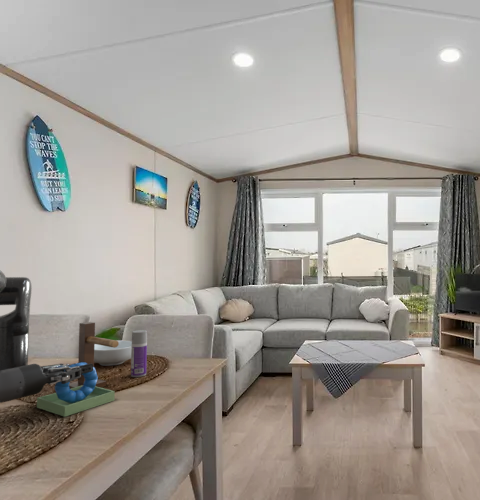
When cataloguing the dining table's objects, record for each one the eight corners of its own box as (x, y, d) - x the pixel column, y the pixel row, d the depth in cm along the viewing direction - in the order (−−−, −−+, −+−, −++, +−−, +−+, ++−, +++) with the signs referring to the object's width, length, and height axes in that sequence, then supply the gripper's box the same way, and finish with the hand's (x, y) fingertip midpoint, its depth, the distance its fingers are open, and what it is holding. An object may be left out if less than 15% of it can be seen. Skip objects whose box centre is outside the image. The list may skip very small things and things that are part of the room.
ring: (51, 406, 104) (52, 367, 104) (93, 394, 114) (94, 358, 114) (57, 408, 103) (59, 368, 103) (99, 396, 112) (100, 359, 113)
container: (149, 373, 137) (150, 330, 137) (140, 377, 132) (141, 332, 132) (136, 372, 137) (137, 329, 138) (127, 376, 133) (128, 332, 133)
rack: (64, 389, 120) (65, 323, 120) (91, 382, 127) (92, 320, 127) (100, 399, 112) (102, 329, 112) (127, 391, 119) (128, 325, 119)
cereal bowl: (107, 371, 138) (108, 351, 138) (74, 366, 144) (75, 347, 144) (147, 359, 154) (148, 341, 154) (116, 355, 160) (117, 338, 160)
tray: (36, 407, 105) (36, 397, 105) (86, 392, 117) (87, 384, 117) (64, 416, 100) (64, 406, 100) (114, 400, 111) (114, 391, 111)
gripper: (31, 371, 93) (104, 356, 108) (1, 363, 99) (74, 350, 114) (30, 403, 92) (103, 383, 108) (-1, 394, 99) (73, 376, 114)
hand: (88, 366), depth 111 cm, fingers closed on ring, 3 cm apart
